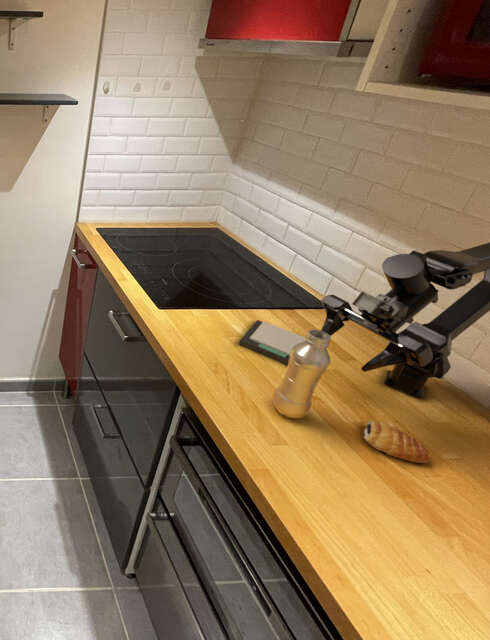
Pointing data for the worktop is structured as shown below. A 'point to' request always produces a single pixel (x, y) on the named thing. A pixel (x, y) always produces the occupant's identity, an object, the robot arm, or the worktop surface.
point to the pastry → (395, 442)
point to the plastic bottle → (302, 375)
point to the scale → (271, 341)
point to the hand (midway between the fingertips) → (339, 355)
